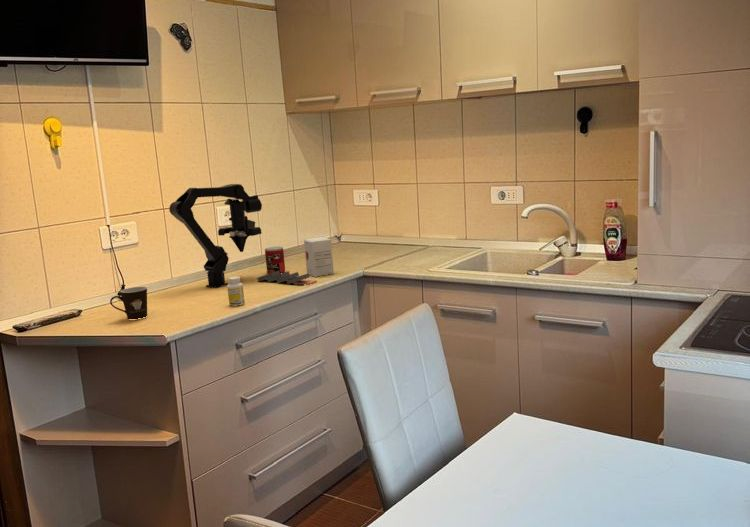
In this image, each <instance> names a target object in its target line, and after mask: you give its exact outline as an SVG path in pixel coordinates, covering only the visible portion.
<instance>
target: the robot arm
mask: <svg viewBox="0 0 750 527" xmlns="http://www.w3.org/2000/svg"><path fill="white" fill-rule="evenodd" d="M211 197H212V198H214V197H216V198H217V197H224V198H227V199H226V201H225V202H224V203H223V204H224V206H226V205H227V206H229V212H230V217H228V221H230V223H231V226H224V227H221V228H220V227H219V228H218V231H217V234H218V236H222V237H223V236H225V235H226V234H229V236H228V237H229V238H230V239H231V240H232V242H233V243H234V244H235V246H236V247H237V249H238V252H240V253H243V252H244V250H245V246H246V242H247V239H248V238H249V237H252V236H253V237H254V236H257V235H262V232H263V231H262V228H261V227H260V226H256V221H254V220H252V219H251V220H250V219H248V215H245V213H246V214H249V213H256V212H261V211H262V209H263V205H262V204H263V203H262V201H261V199H260V198H259V195H257V194H256V195H252V196H250V195H249V194H248V193H247V192H246V190H245V188H244V186H243V185H242V184H239V183H230V184H229V183H228V184H225V185H222V186H217V187H216V186H215V187H189V188H188V189H186V190H185V191H184V192H183V193H182V194H181V195H180V196H179V197H178V198H176V200H175V201H173V202H171V204H170V205H169V212H170V214H171V215H172V217H174V218H175V219H176V220H178V221H179V222H180V223H181V224H183V225H184V226H185V227H186V229H188V232H189V233H190V234H191V236H193V238H194V239H195V240H196V242H197V243H198V244H199V245H200V246H201V248H202V249H203V250H204V254H205V257H206V259H207V261H206V262H205V264H203V269H204V271H206V274H207V275H206V276H207V281H208V284H207V285H205V287H206V288H220V287H223V286H226V285H227V286H228V284H229V282H226V278H225V271H226V269H227V265H228V263H229V253H227V252H226V250H225V249H224V247H223V246H220V245H215V244H214V243H213V241H212V240H211V238H210V237H209V236H208V235H207V233H206V232H205V231H204V229H203V228H202V227H201V226H200V224H199V223H198V221H197V220H196V219H195V215H194V211H193V210H192V208H193V207H194V206H195V203H196V202H197V200H198V198H211Z"/></svg>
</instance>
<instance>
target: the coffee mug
mask: <svg viewBox="0 0 750 527" xmlns="http://www.w3.org/2000/svg"><path fill="white" fill-rule="evenodd" d="M120 294H121V295H120V296H119V295H115V296H112V297H111V298H110V300H109V304H110V305H111V306H112V307H113V308H114V309H116V310H119V311H120V312H122V313H125V315H126V318H127V320H128V319H138V318H143V317H146V316H147V317H148V287H146V286H134V287H133V286H132V287H128V288H124V289H121V290H120ZM117 298H118V299H119V300H120V301H121V302H123V306H124V310H123V309H122V308H119V307H117V306H115V305H114V304H113V300H114V299H117Z"/></svg>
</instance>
